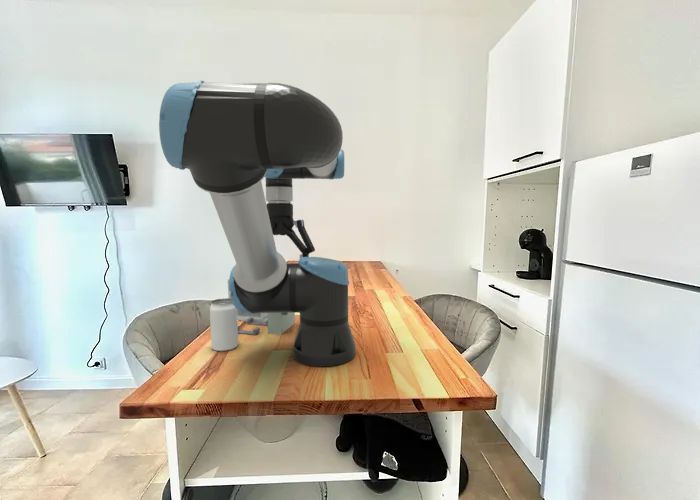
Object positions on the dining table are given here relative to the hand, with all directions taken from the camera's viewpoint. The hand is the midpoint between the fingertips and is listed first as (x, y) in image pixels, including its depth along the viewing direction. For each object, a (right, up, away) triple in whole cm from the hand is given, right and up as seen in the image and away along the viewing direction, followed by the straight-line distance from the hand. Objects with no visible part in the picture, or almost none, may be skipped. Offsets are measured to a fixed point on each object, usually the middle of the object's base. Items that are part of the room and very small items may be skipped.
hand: (281, 275), depth 103 cm
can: (-12, -17, -13) cm, 25 cm away
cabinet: (-11, -15, +6) cm, 20 cm away
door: (0, -16, +2) cm, 16 cm away
